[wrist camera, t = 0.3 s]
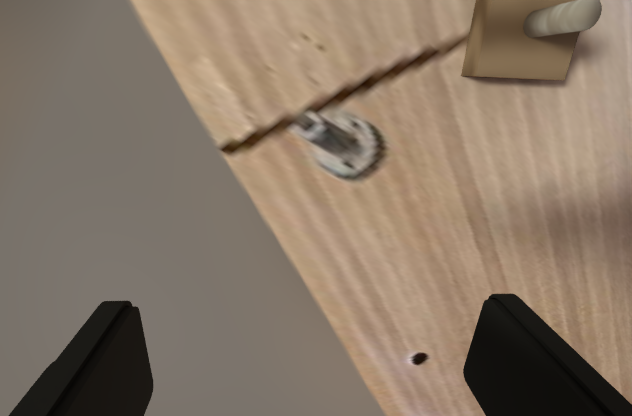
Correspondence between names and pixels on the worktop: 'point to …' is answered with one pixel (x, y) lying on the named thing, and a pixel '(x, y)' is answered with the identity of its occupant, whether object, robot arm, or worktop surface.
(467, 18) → the worktop surface
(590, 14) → the shaft block
